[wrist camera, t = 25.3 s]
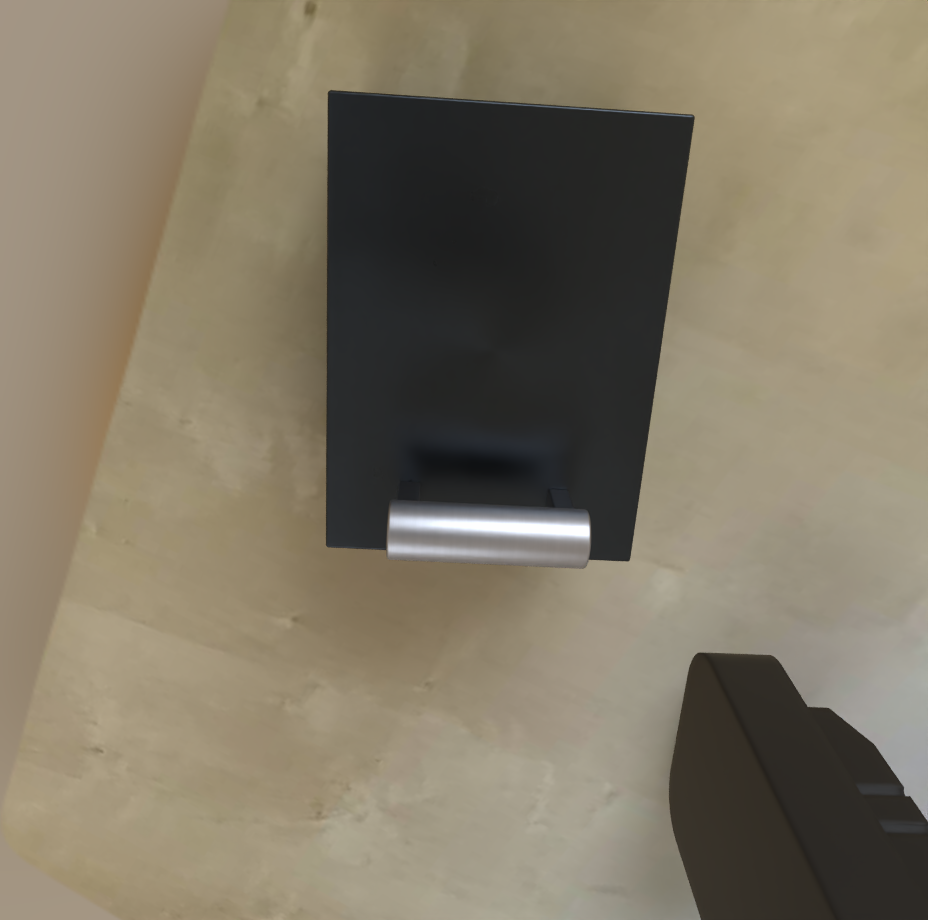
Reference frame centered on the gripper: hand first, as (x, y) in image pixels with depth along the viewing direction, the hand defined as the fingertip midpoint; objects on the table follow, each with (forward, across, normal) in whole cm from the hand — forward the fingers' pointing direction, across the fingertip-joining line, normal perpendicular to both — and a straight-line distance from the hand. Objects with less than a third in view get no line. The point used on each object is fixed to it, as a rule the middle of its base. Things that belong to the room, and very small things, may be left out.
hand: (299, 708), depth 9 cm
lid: (+20, -3, +1) cm, 20 cm away
